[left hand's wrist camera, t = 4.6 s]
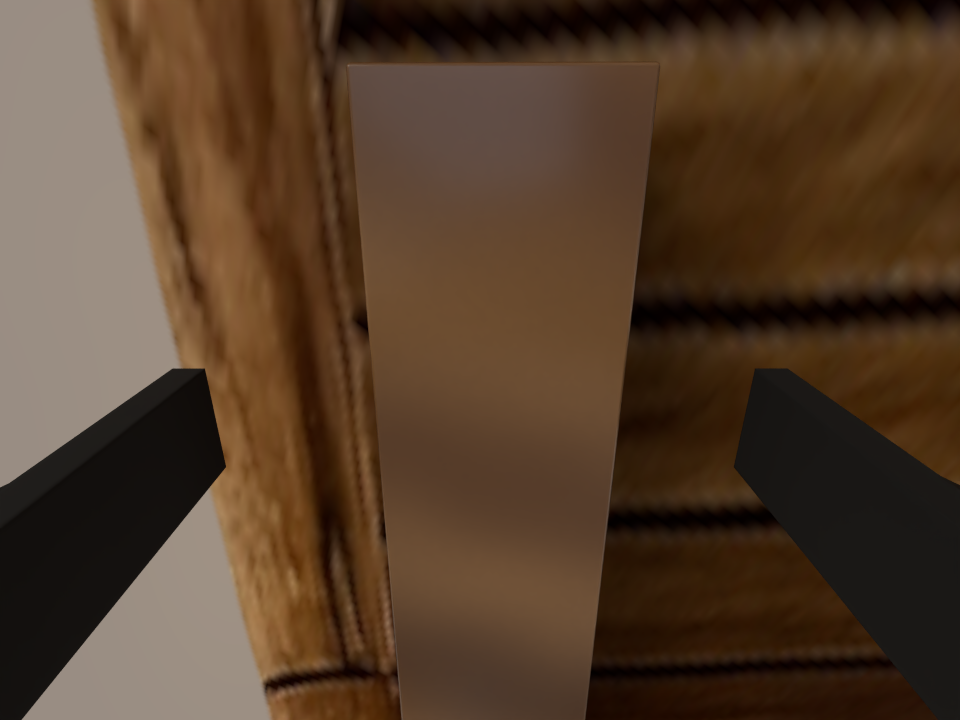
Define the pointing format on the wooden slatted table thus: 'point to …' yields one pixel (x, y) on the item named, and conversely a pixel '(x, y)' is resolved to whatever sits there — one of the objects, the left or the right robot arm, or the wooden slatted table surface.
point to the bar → (498, 362)
